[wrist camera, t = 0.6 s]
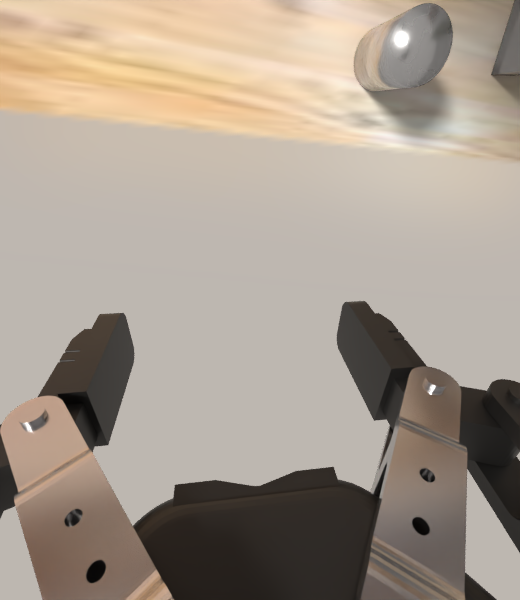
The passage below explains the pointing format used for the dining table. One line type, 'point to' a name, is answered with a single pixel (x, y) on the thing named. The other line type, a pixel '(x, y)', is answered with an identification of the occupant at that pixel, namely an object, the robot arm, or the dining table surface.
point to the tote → (510, 46)
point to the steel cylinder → (404, 49)
